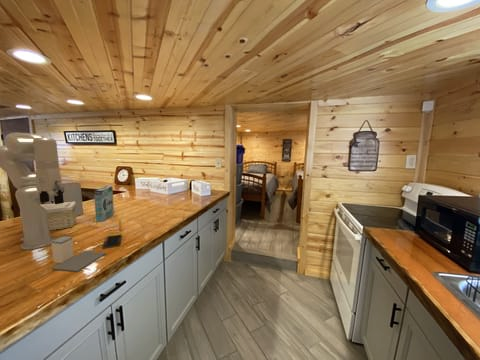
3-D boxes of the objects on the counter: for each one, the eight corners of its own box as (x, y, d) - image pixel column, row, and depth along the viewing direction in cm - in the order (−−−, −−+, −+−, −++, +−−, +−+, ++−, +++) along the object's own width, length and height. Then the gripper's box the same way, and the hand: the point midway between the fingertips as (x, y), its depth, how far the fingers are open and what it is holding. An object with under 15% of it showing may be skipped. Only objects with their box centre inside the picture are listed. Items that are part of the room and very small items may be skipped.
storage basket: (21, 235, 114) (18, 211, 113) (31, 226, 128) (29, 205, 126) (73, 228, 127) (71, 206, 125) (78, 220, 141) (76, 201, 139)
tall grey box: (84, 212, 161) (81, 182, 158) (81, 216, 150) (78, 184, 147) (64, 214, 155) (61, 183, 151) (60, 218, 144) (56, 185, 141)
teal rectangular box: (107, 214, 157) (105, 186, 154) (114, 213, 158) (112, 185, 155) (95, 222, 138) (93, 190, 135) (103, 221, 139) (101, 190, 136)
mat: (52, 269, 82) (51, 268, 82) (84, 252, 97) (84, 250, 97) (77, 272, 81) (77, 270, 81) (106, 253, 95) (106, 252, 95)
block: (53, 262, 88) (51, 241, 86) (64, 256, 93) (62, 236, 91) (63, 263, 87) (61, 241, 86) (74, 257, 92) (72, 237, 91)
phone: (102, 247, 100) (106, 236, 113) (102, 249, 100) (106, 238, 113) (119, 244, 104) (122, 234, 117) (120, 246, 104) (122, 236, 117)
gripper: (24, 165, 87) (29, 203, 89) (50, 166, 82) (55, 206, 84) (45, 165, 94) (49, 199, 96) (70, 165, 89) (74, 202, 91)
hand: (52, 202), depth 90 cm, fingers open, 9 cm apart
